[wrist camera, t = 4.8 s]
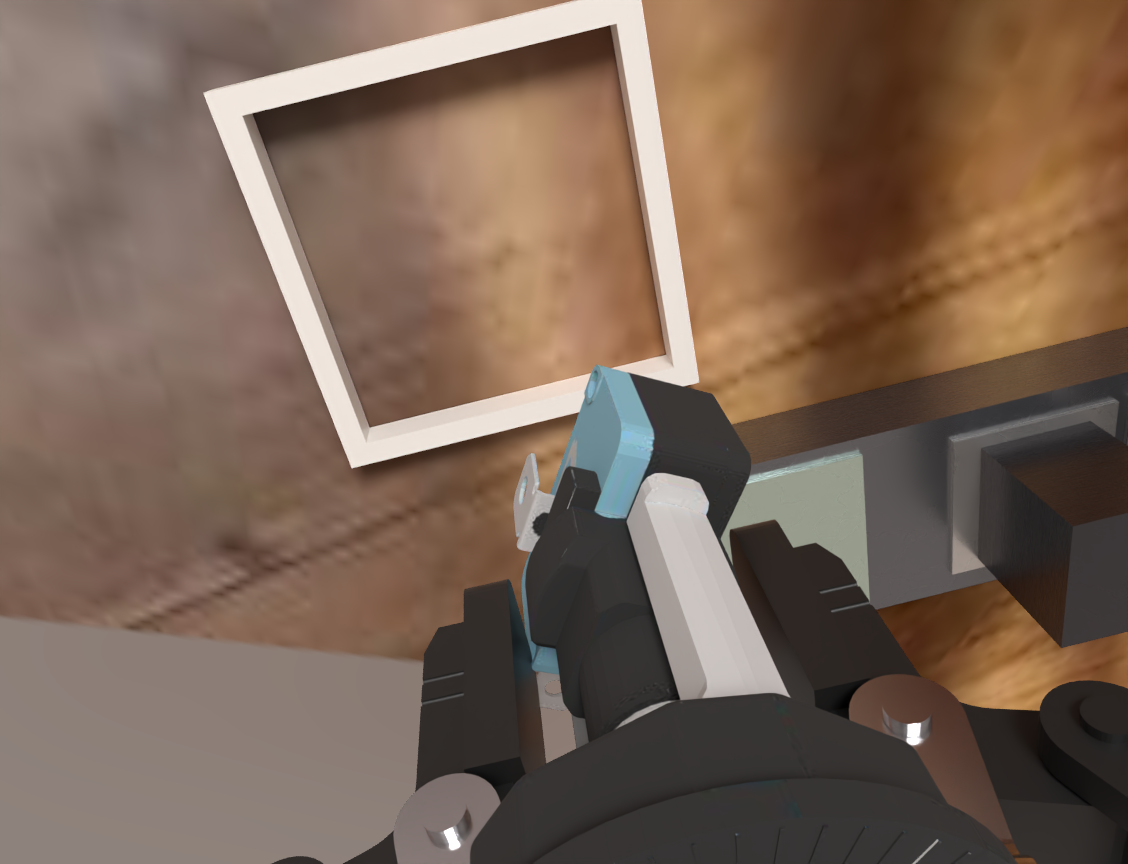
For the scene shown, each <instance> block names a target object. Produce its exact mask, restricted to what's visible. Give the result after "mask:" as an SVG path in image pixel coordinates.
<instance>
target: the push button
mask: <svg viewBox="0 0 1128 864" xmlns="http://www.w3.org/2000/svg"><path fill="white" fill-rule="evenodd" d="M584 395H585V398H584V400H583V403H582V406H581V409H580V412H579V415H578V417H577V420H576V423H575V426H574V429H573V431H572V434H571V437H570V440H569V443H568V446H567V448H566V451H565V454H564V457H563V460H562V463H561V465H560V468H559V471H558V474H557V477H556V480H555V482H554V485H553V488H552V491H551V494H545V493H543V492H541V491H539V490H538V487H539V478H538V471H537V464H536V457H535V454H533V453H530V454H529V455H528V456H527V459H526V462H525V465H524V468H523V471H522V474H521V477H520V480H519V483H518V486H517V489H516V492H515V498H514V505H513V506H514V517H515V528H516V537H519V539H518V542H517V547H518V548H519V549H520V550H524V551H529V552H530V553H529V556H528V559H527V561H526V564H525V568H524V571H523V577H522V599H523V610H524V621H525V632H526V636H527V639H528V643H529V646H530V650H531V654H532V660H533V662H532V663H531V664H532V669H533V670H534V671H535V672H539V673H538V676H537V684H538V692H539V702H540V707H542V708H549V709H555V710H561V711H564V710H566V709H568V710H569V711H570V713H571V714H572V720H573V728H574V734H575V741H576V748H577V749H575V750H573V751H571V752H569V753H567V754H565V755H563V756H561V757H559V758H557V759H555V760H553V761H551V762H549V763H547V764H545V765H543V766H541V767H539V768H537V769H535V770H533V771H531V772H529V773H527V774H525V775H523V776H522V777H521V778H520V779H519V780H518V781H517V782H516V783H515V784H514V786H513V787H512V788H511V790H510V791H509V792H508V794H507V795H506V797H505V798H504V799H503V801H502V802H501V803H500V805H499V806H498V808H497V809H496V810H495V812H494V813H493V814H492V816H491V817H490V818H489V820H488V821H487V823H486V824H485V825H484V827H483V828H482V829H481V831H480V832H479V834H478V835H477V836H476V838H475V839H474V841H473V843H472V845H471V850H470V864H1018V863H1017V862H1016V860H1015V859H1014V857H1013V856H1012V855H1011V853H1010V852H1009V851H1008V849H1007V848H1006V846H1005V845H1004V844H1003V842H1002V841H1001V840H999V839H998V838H997V837H996V836H995V835H994V834H993V833H992V832H991V831H990V830H989V829H988V828H987V827H986V826H984V825H983V824H981V823H980V822H978V821H977V820H976V819H974V818H973V817H971V816H970V815H968V814H967V813H965V812H963V811H961V810H959V809H957V808H955V807H953V806H951V805H949V804H948V803H947V802H946V800H945V798H944V797H943V795H942V793H941V792H940V790H939V788H938V786H937V785H936V783H935V781H934V780H933V778H932V776H931V775H930V773H929V771H928V770H927V768H926V766H925V765H924V763H923V761H922V760H921V758H920V756H919V755H918V753H917V751H916V750H915V749H914V748H913V746H911V745H910V744H908V743H907V742H905V741H903V740H901V739H898V738H895V737H893V736H890V735H887V734H885V733H882V732H880V731H877V730H874V729H872V728H869V727H866V726H864V725H861V724H859V723H856V722H853V721H851V720H848V719H845V718H843V717H840V716H838V715H835V714H832V713H830V712H827V711H824V710H822V709H819V708H817V707H814V706H811V705H809V704H806V703H803V702H801V701H798V700H796V699H793V698H791V697H790V696H789V694H788V693H787V690H786V688H785V686H784V684H783V682H782V679H781V677H780V675H779V673H778V671H777V669H776V666H775V664H774V662H773V660H772V658H771V656H770V653H769V651H768V649H767V647H766V645H765V642H764V640H763V638H762V636H761V634H760V632H759V629H758V627H757V625H756V623H755V621H754V619H753V616H752V614H751V612H750V610H749V608H748V605H747V603H746V601H745V599H744V597H743V595H742V592H741V590H740V585H739V581H738V578H737V575H736V572H735V569H734V567H733V565H732V562H731V560H730V558H729V556H728V554H727V552H726V550H725V547H724V545H723V543H722V541H721V537H722V535H723V533H724V531H725V529H726V527H727V524H728V522H729V520H730V518H731V516H732V514H733V512H734V509H735V507H736V505H737V503H738V501H739V499H740V497H741V495H742V492H743V490H744V488H745V486H746V484H747V482H748V479H749V476H750V472H751V457H750V454H749V452H748V451H747V449H746V447H745V446H744V444H743V443H742V441H741V439H740V438H739V436H738V435H737V433H736V431H735V430H734V428H733V426H732V425H731V423H730V422H729V420H728V418H727V417H726V415H725V413H724V412H723V410H722V409H721V407H720V405H719V404H718V402H717V401H716V399H715V397H714V396H713V395H712V394H710V393H706V392H703V391H699V390H695V389H691V388H687V387H683V386H679V385H676V384H672V383H668V382H664V381H660V380H656V379H652V378H648V377H644V376H640V375H636V374H633V373H629V372H624V371H620V370H616V369H612V368H608V367H604V366H600V365H596V366H595V367H594V368H593V371H592V373H591V375H590V378H589V381H588V383H587V386H586V389H585V392H584ZM526 484H527V489H526V493H525V497H524V492H525V487H526ZM523 498H524V500H523ZM555 680H558V681H560V683H561V690H562V692H561V693H558V694H550V693H548V692H546V691H545V686H546V685H547V683H549V682H551V681H555Z"/></svg>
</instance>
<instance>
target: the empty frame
mask: <svg viewBox="0 0 1128 864" xmlns="http://www.w3.org/2000/svg"><path fill="white" fill-rule="evenodd" d="M609 25H610V27H611V33H612V38H613V44H614V50H615V56H616V62H617V68H618V74H619V80H620V86H621V91H622V97H623V103H624V109H625V115H626V121H627V127H628V133H629V139H630V145H631V150H632V156H633V162H634V168H635V174H636V180H637V186H638V192H639V198H640V203H641V209H642V215H643V221H644V227H645V233H646V239H647V245H648V251H649V257H650V262H651V268H652V274H653V280H654V286H655V292H656V298H657V304H658V310H659V315H660V321H661V327H662V333H663V339H664V345H665V351H666V355H663V356H659V357H655V358H651V359H647V360H643V361H638V362H634V363H630V364H626V365H622V366H618V367H614V368H612V369H616V370H620V371H624V372H629V373H633V374H636V375H640V376H644V377H648V378H652V379H656V380H660V381H664V382H668V383H672V384H676V385H679V386H687V385H691V384H695V383H699V378H698V371H697V364H696V358H695V351H694V345H693V338H692V331H691V325H690V318H689V312H688V305H687V298H686V292H685V285H684V279H683V272H682V265H681V259H680V252H679V246H678V239H677V232H676V226H675V219H674V213H673V206H672V199H671V193H670V186H669V179H668V173H667V166H666V160H665V153H664V146H663V140H662V133H661V127H660V120H659V113H658V107H657V100H656V94H655V87H654V80H653V74H652V67H651V61H650V54H649V47H648V41H647V34H646V28H645V21H644V14H643V8H642V1H641V0H574V1H570V2H566V3H562V4H558V5H554V6H550V7H545V8H541V9H537V10H533V11H529V12H525V13H521V14H517V15H513V16H509V17H505V18H501V19H497V20H493V21H489V22H484V23H480V24H476V25H472V26H468V27H464V28H460V29H456V30H452V31H448V32H444V33H440V34H436V35H432V36H428V37H423V38H419V39H415V40H411V41H407V42H403V43H399V44H395V45H391V46H387V47H383V48H379V49H375V50H371V51H367V52H362V53H358V54H354V55H350V56H346V57H342V58H338V59H334V60H330V61H326V62H322V63H318V64H314V65H310V66H306V67H302V68H297V69H293V70H289V71H285V72H281V73H277V74H273V75H269V76H265V77H261V78H257V79H253V80H249V81H245V82H241V83H236V84H232V85H228V86H224V87H220V88H216V89H213V90H210V91H207V92H205V93H203V94H204V96H205V99H206V101H207V104H208V106H209V109H210V111H211V114H212V116H213V119H214V121H215V124H216V126H217V129H218V131H219V134H220V136H221V139H222V142H223V144H224V147H225V149H226V152H227V154H228V157H229V159H230V162H231V164H232V167H233V169H234V172H235V174H236V177H237V179H238V182H239V184H240V187H241V190H242V192H243V195H244V197H245V200H246V202H247V205H248V207H249V210H250V212H251V215H252V217H253V220H254V222H255V225H256V227H257V230H258V233H259V235H260V238H261V240H262V243H263V245H264V248H265V250H266V253H267V255H268V258H269V260H270V263H271V265H272V268H273V270H274V273H275V275H276V278H277V281H278V283H279V286H280V288H281V291H282V293H283V296H284V298H285V301H286V303H287V306H288V308H289V311H290V313H291V316H292V318H293V321H294V323H295V326H296V329H297V331H298V334H299V336H300V339H301V341H302V344H303V346H304V349H305V351H306V354H307V356H308V359H309V361H310V364H311V366H312V369H313V372H314V374H315V377H316V379H317V382H318V384H319V387H320V389H321V392H322V394H323V397H324V399H325V402H326V404H327V407H328V409H329V412H330V414H331V417H332V420H333V422H334V425H335V427H336V430H337V432H338V435H339V437H340V440H341V442H342V445H343V447H344V450H345V452H346V455H347V457H348V460H349V462H350V465H351V468H355V467H359V466H363V465H367V464H371V463H375V462H379V461H383V460H387V459H391V458H395V457H399V456H403V455H407V454H411V453H416V452H420V451H424V450H428V449H432V448H436V447H440V446H444V445H448V444H452V443H456V442H460V441H464V440H468V439H472V438H476V437H480V436H484V435H488V434H493V433H497V432H501V431H505V430H509V429H513V428H517V427H521V426H525V425H529V424H533V423H537V422H541V421H545V420H549V419H553V418H557V417H561V416H565V415H570V414H574V413H578V412H580V409H581V406H582V403H583V400H584V398H585V395H584V392H585V389H586V386H587V383H588V381H589V378H590V375H591V373H590V374H586V375H582V376H578V377H574V378H570V379H566V380H561V381H557V382H553V383H549V384H545V385H541V386H537V387H533V388H529V389H525V390H521V391H517V392H513V393H509V394H505V395H501V396H497V397H493V398H488V399H484V400H480V401H476V402H472V403H468V404H464V405H460V406H456V407H452V408H448V409H444V410H440V411H436V412H432V413H428V414H424V415H420V416H416V417H411V418H407V419H403V420H399V421H395V422H391V423H387V424H383V425H379V426H375V427H371V428H370V427H369V425H368V422H367V419H366V417H365V414H364V411H363V409H362V406H361V403H360V401H359V398H358V395H357V393H356V390H355V387H354V384H353V382H352V379H351V376H350V374H349V371H348V368H347V366H346V363H345V360H344V358H343V355H342V352H341V350H340V347H339V344H338V342H337V339H336V336H335V334H334V331H333V328H332V326H331V323H330V320H329V318H328V315H327V312H326V309H325V307H324V304H323V301H322V299H321V296H320V293H319V291H318V288H317V285H316V283H315V280H314V277H313V275H312V272H311V269H310V267H309V264H308V261H307V259H306V256H305V253H304V251H303V248H302V245H301V243H300V240H299V237H298V235H297V232H296V229H295V226H294V224H293V221H292V218H291V216H290V213H289V210H288V208H287V205H286V202H285V200H284V197H283V194H282V192H281V189H280V186H279V184H278V181H277V178H276V176H275V173H274V170H273V168H272V165H271V162H270V160H269V157H268V154H267V151H266V149H265V146H264V143H263V141H262V138H261V135H260V133H259V130H258V127H257V125H256V122H255V119H254V117H253V114H252V113H255V112H259V111H263V110H267V109H272V108H276V107H280V106H284V105H288V104H292V103H296V102H300V101H304V100H308V99H312V98H316V97H320V96H324V95H328V94H333V93H337V92H341V91H345V90H349V89H353V88H357V87H361V86H365V85H369V84H373V83H377V82H381V81H385V80H389V79H394V78H398V77H402V76H406V75H410V74H414V73H418V72H422V71H426V70H430V69H434V68H438V67H442V66H446V65H450V64H454V63H459V62H463V61H467V60H471V59H475V58H479V57H483V56H487V55H491V54H495V53H499V52H503V51H507V50H511V49H515V48H520V47H524V46H528V45H532V44H536V43H540V42H544V41H548V40H552V39H556V38H560V37H564V36H568V35H572V34H576V33H581V32H585V31H589V30H593V29H597V28H601V27H605V26H609Z"/></svg>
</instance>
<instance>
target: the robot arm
mask: <svg viewBox="0 0 1128 864" xmlns="http://www.w3.org/2000/svg"><path fill="white" fill-rule="evenodd" d="M729 538H730V547H731V555H732V563H733V567H734V569H735V572H736V575H737V578H738V581H739V585H740V590H741V592H742V595H743V597H744V599H745V601H746V603H747V605H748V608H749V610H750V612H751V614H752V616H753V619H754V621H755V623H756V625H757V627H758V629H759V632H760V634H761V636H762V638H763V640H764V642H765V645H766V647H767V649H768V651H769V653H770V656H771V658H772V660H773V662H774V664H775V666H776V669H777V671H778V673H779V675H780V677H781V679H782V682H783V684H784V686H785V688H786V690H787V693H788V694H789V696H790V697H791V698H793V699H796V700H798V701H801V702H803V703H806V704H809V705H811V706H814V707H817V708H819V709H822V710H824V711H827V712H830V713H832V714H835V715H838V716H840V717H843V718H845V719H848V720H851V721H853V722H856V723H859V724H861V725H864V726H866V727H869V728H872V729H874V730H877V731H880V732H882V733H885V734H887V735H890V736H893V737H895V738H898V739H901V740H903V741H905V742H907V743H908V744H910V745H911V746H913V748H914V749H915V750H916V751H917V753H918V755H919V756H920V758H921V760H922V761H923V763H924V765H925V766H926V768H927V770H928V771H929V773H930V775H931V776H932V778H933V780H934V781H935V783H936V785H937V786H938V788H939V790H940V792H941V793H942V795H943V797H944V798H945V800H946V802H947V803H948V804H949V805H951V806H953V807H955V808H957V809H959V810H961V811H963V812H965V813H967V814H968V815H970V816H971V817H973V818H974V819H976V820H977V821H978V822H980V823H981V824H983V825H984V826H986V827H987V828H988V829H989V830H990V831H991V832H992V833H993V834H994V835H995V836H996V837H997V838H998V839H999V840H1001V841H1002V842H1003V844H1004V845H1005V846H1006V848H1007V849H1008V851H1009V852H1010V853H1011V855H1012V856H1013V857H1014V859H1015V860H1016V862H1017V863H1018V864H1128V689H1127V688H1125V687H1122V686H1118V685H1115V684H1111V683H1106V682H1101V681H1075V682H1069V683H1066V684H1063V685H1060V686H1058V687H1056V688H1054V689H1053V690H1051V691H1050V692H1049V693H1048V694H1047V695H1046V696H1045V698H1044V699H1043V701H1042V703H1041V706H1040V711H1032V710H1010V709H991V708H981V707H976V706H971V705H967V704H964V703H961V702H959V701H958V700H957V698H956V697H955V696H954V695H953V694H952V693H951V692H949V691H948V690H947V689H945V688H944V687H942V686H941V685H939V684H937V683H935V682H933V681H930V680H928V679H925V678H922V677H921V676H920V675H919V674H918V672H917V671H916V669H915V668H914V666H913V665H912V663H911V662H910V661H909V659H908V658H907V656H906V655H905V653H904V652H903V650H902V649H901V647H900V646H899V644H898V643H897V641H896V640H895V638H894V637H893V635H892V634H891V632H890V631H889V629H888V628H887V626H886V625H885V623H884V622H883V620H882V619H881V617H880V616H879V614H878V613H877V611H876V610H875V608H874V607H873V605H870V603H869V599H868V598H867V596H866V595H865V593H864V592H863V590H862V589H861V587H860V586H858V585H857V581H856V580H855V578H854V577H853V575H852V574H851V572H850V571H849V569H848V568H847V566H846V565H845V563H844V562H843V560H842V559H841V558H839V557H837V556H836V555H834V554H833V553H831V552H830V551H828V550H827V549H825V548H823V547H822V546H820V545H819V544H817V543H812V544H807V545H803V546H799V547H794V548H793V546H792V545H791V543H790V541H789V540H788V538H787V536H786V535H785V533H784V531H783V530H782V528H781V526H780V525H779V523H778V522H777V521H776V520H775V519H774V520H769V521H765V522H760V523H756V524H751V525H747V526H743V527H738V528H734V529H730V532H729ZM532 662H533V660H532V654H531V650H530V646H529V643H528V639H527V636H526V632H525V629H524V626H523V622H522V619H521V615H520V612H519V608H518V605H517V602H516V598H515V595H514V591H513V588H512V585H511V582H510V580H509V579H507V580H503V581H499V582H494V583H490V584H485V585H481V586H477V587H472V588H468V589H465V590H464V622H462V623H458V624H453V625H449V626H445V627H440V628H438V630H437V631H436V633H435V635H434V637H433V639H432V641H431V642H430V644H429V646H428V648H427V650H426V651H425V653H424V667H423V683H424V685H423V686H422V699H421V702H422V707H421V716H420V732H419V748H418V764H417V782H416V790H415V793H414V794H413V795H412V796H411V797H410V798H409V799H408V800H407V801H406V803H405V804H404V806H403V807H402V809H401V810H400V813H399V815H398V817H397V820H396V823H395V826H394V831H393V832H392V833H391V834H390V835H388V836H387V837H386V838H385V839H384V840H383V841H381V842H380V843H379V844H377V845H375V846H374V847H372V848H371V849H369V850H367V851H365V852H364V853H362V854H360V855H358V856H356V857H354V858H353V859H351V860H349V861H347V862H345V863H343V864H470V850H471V845H472V843H473V841H474V839H475V838H476V836H477V835H478V834H479V832H480V831H481V829H482V828H483V827H484V825H485V824H486V823H487V821H488V820H489V818H490V817H491V816H492V814H493V813H494V812H495V810H496V809H497V808H498V806H499V805H500V803H501V802H502V801H503V799H504V798H505V797H506V795H507V794H508V792H509V791H510V790H511V788H512V787H513V786H514V784H515V783H516V782H517V781H518V780H519V779H520V778H521V777H522V776H523V775H525V774H527V773H529V772H531V771H533V770H535V769H537V768H539V767H541V766H543V765H545V764H546V758H545V749H544V741H543V740H544V739H543V730H542V721H541V711H540V702H539V692H538V684H537V678H536V672H535V671H534V670H533V669H532V664H531V663H532ZM272 864H323V863H322V862H320V861H318V860H316V859H314V858H310V857H304V856H296V857H289V858H286V859H282V860H279V861H277V862H274V863H272Z"/></svg>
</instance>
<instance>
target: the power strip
mask: <svg viewBox="0 0 1128 864" xmlns="http://www.w3.org/2000/svg"><path fill="white" fill-rule="evenodd" d="M732 426H733V428H734V430H735V431H736V433H737V435H738V436H739V438H740V439H741V441H742V443H743V444H744V446H745V447H746V449H747V451H748V452H749V454H750V457H751V472H750V476H749V479H748V482H747V484H746V486H745V488H744V490H743V492H742V495H741V497H740V499H739V501H738V503H737V505H736V507H735V509H734V512H733V514H732V516H731V518H730V520H729V522H728V524H727V527H726V529H725V531H724V533H723V535H722V537H721V541H722V543H723V545H724V547H725V550H726V552H727V554H728V556H729V558H730V560H731V562H732V555H731V547H730V538H729V532H730V529H734V528H738V527H743V526H747V525H751V524H756V523H760V522H765V521H769V520H774V519H775V520H776V521H777V522H778V523H779V525H780V526H781V528H782V530H783V531H784V533H785V535H786V536H787V538H788V540H789V541H790V543H791V545H792V546H793V548H794V547H799V546H803V545H807V544H812V543H817V544H819V545H820V546H822V547H823V548H825V549H827V550H828V551H830V552H831V553H833V554H834V555H836V556H837V557H839V558H841V559H842V560H843V562H844V563H845V565H846V566H847V568H848V569H849V571H850V572H851V574H852V575H853V577H854V578H855V580H856V581H857V585H858V586H860V587H861V589H862V590H863V592H864V593H865V595H866V596H867V598H868V599H869V603H870V605H873V607H874V608H875V610H876V609H880V608H884V607H888V606H892V605H896V604H900V603H904V602H908V601H912V600H916V599H921V598H925V597H929V596H933V595H937V594H941V593H945V592H949V591H953V590H957V589H961V588H965V587H969V586H973V585H977V584H981V583H985V582H989V581H993V580H998V581H999V582H1000V583H1001V584H1002V585H1003V586H1004V587H1005V588H1006V589H1007V590H1008V591H1009V592H1010V593H1011V595H1012V596H1013V597H1014V598H1015V599H1016V600H1017V601H1018V602H1019V603H1020V604H1021V605H1022V606H1023V607H1024V608H1025V610H1026V611H1027V612H1028V613H1029V614H1030V615H1031V616H1032V617H1033V618H1034V619H1035V620H1036V621H1037V622H1038V623H1039V625H1040V626H1041V627H1042V628H1043V629H1044V630H1045V631H1046V632H1047V633H1048V634H1049V635H1050V636H1051V637H1052V638H1053V640H1054V641H1055V642H1056V643H1057V644H1058V645H1059V646H1060V647H1061V648H1063V647H1067V646H1071V645H1075V644H1079V643H1083V642H1087V641H1091V640H1095V639H1099V638H1103V637H1107V636H1111V635H1115V634H1120V633H1124V632H1128V327H1126V328H1122V329H1118V330H1114V331H1110V332H1106V333H1102V334H1098V335H1094V336H1090V337H1085V338H1081V339H1077V340H1073V341H1069V342H1065V343H1061V344H1057V345H1053V346H1049V347H1045V348H1041V349H1037V350H1033V351H1029V352H1025V353H1021V354H1017V355H1013V356H1008V357H1004V358H1000V359H996V360H992V361H988V362H984V363H980V364H976V365H972V366H968V367H964V368H960V369H956V370H952V371H948V372H944V373H940V374H936V375H932V376H927V377H923V378H919V379H915V380H911V381H907V382H903V383H899V384H895V385H891V386H887V387H883V388H879V389H875V390H871V391H867V392H863V393H859V394H855V395H850V396H846V397H842V398H838V399H834V400H830V401H826V402H822V403H818V404H814V405H810V406H806V407H802V408H798V409H794V410H790V411H786V412H782V413H778V414H774V415H769V416H765V417H761V418H757V419H753V420H749V421H745V422H741V423H737V424H733V425H732ZM732 565H733V563H732Z"/></svg>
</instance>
